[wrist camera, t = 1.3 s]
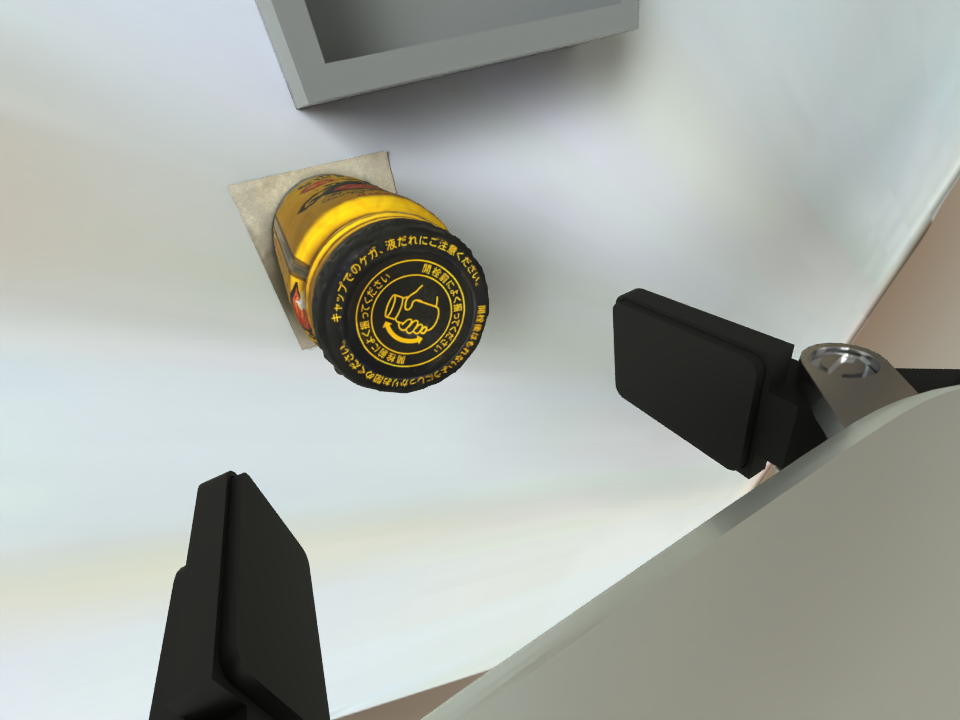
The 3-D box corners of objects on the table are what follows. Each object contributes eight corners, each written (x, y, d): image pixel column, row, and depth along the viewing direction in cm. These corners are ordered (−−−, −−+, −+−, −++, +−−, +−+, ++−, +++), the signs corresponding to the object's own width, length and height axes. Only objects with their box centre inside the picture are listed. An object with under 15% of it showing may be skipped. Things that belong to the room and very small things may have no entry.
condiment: (384, 150, 21) (504, 165, 11) (424, 305, 25) (532, 409, 16) (227, 185, 18) (207, 240, 9) (301, 347, 23) (340, 499, 13)
